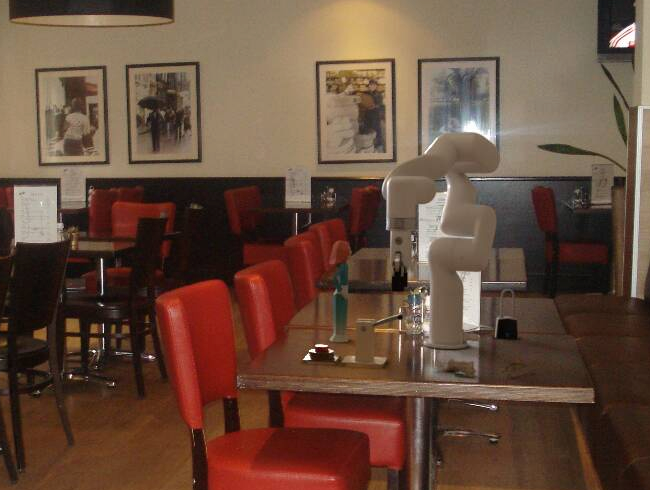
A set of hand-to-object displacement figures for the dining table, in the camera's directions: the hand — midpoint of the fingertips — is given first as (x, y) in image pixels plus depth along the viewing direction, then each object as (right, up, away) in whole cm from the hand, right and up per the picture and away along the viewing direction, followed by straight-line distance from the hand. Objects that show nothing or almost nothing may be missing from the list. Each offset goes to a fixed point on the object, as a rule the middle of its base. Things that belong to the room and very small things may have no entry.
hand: (399, 289), depth 276 cm
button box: (-20, -20, +5) cm, 29 cm away
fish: (+27, -22, -14) cm, 37 cm away
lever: (-4, -10, -1) cm, 11 cm away
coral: (+12, -22, -12) cm, 27 cm away
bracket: (-9, -20, +2) cm, 22 cm away
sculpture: (-11, -17, +37) cm, 42 cm away
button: (-20, -17, +5) cm, 27 cm away
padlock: (+40, -16, +40) cm, 59 cm away
